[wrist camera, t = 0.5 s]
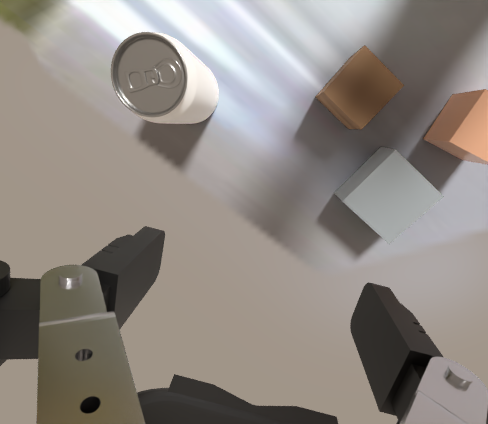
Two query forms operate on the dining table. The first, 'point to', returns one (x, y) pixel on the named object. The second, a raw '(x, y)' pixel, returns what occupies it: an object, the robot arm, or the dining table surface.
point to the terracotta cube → (463, 127)
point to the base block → (388, 193)
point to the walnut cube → (359, 89)
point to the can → (163, 80)
